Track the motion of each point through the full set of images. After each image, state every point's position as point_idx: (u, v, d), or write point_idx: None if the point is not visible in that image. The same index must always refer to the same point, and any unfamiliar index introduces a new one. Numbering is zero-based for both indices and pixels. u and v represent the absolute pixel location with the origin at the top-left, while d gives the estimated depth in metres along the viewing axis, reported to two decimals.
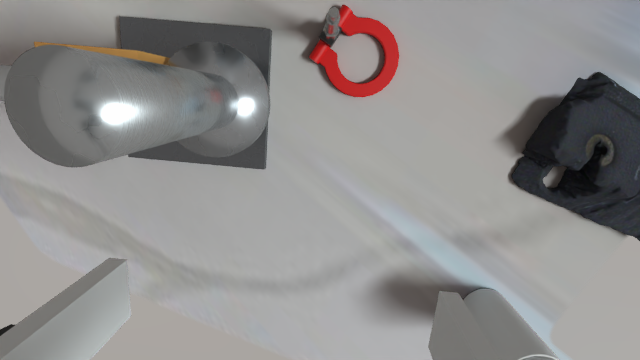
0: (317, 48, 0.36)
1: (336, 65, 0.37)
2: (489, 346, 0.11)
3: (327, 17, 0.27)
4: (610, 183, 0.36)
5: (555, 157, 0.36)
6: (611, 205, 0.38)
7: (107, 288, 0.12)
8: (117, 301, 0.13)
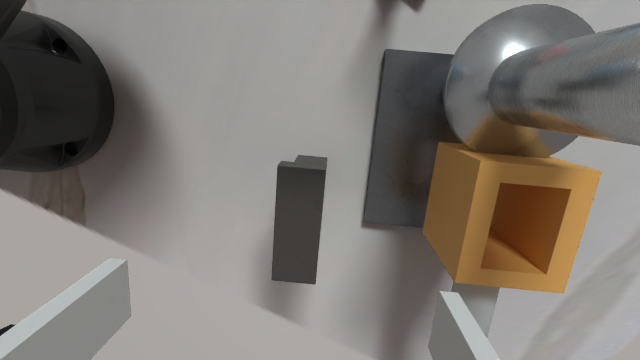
0: None
1: None
2: (489, 346, 0.11)
3: None
4: None
5: None
6: None
7: (106, 288, 0.12)
8: (117, 301, 0.13)
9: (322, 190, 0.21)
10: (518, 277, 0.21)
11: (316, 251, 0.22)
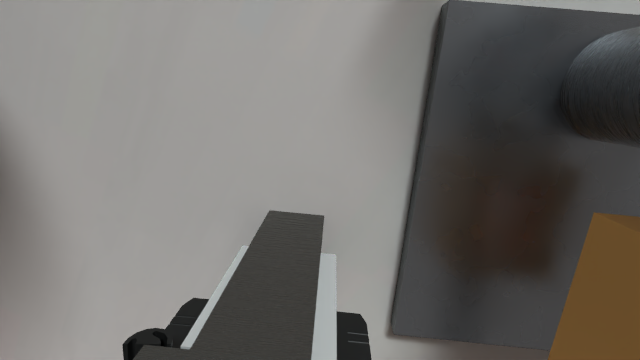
0: None
1: None
2: None
3: None
4: None
5: None
6: None
7: None
8: None
9: None
10: None
11: None
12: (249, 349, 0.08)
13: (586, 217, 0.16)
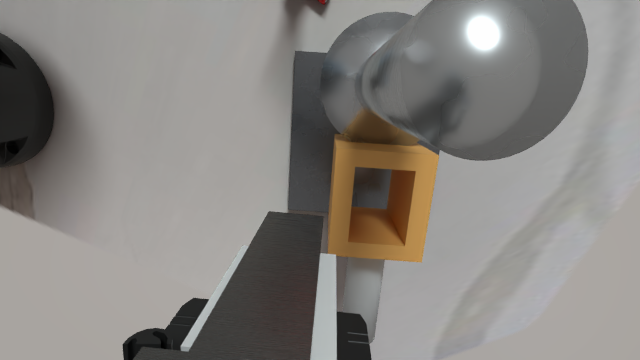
0: None
1: None
2: (335, 290, 0.13)
3: None
4: None
5: None
6: None
7: None
8: None
9: None
10: (381, 249, 0.24)
11: None
12: (248, 350, 0.08)
13: None
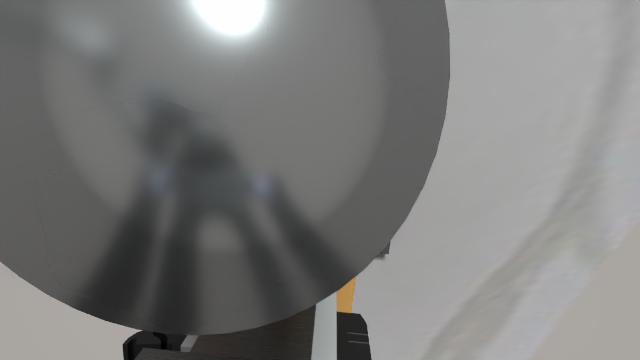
0: None
1: None
2: None
3: None
4: None
5: None
6: None
7: None
8: None
9: None
10: None
11: None
12: (249, 351, 0.08)
13: None
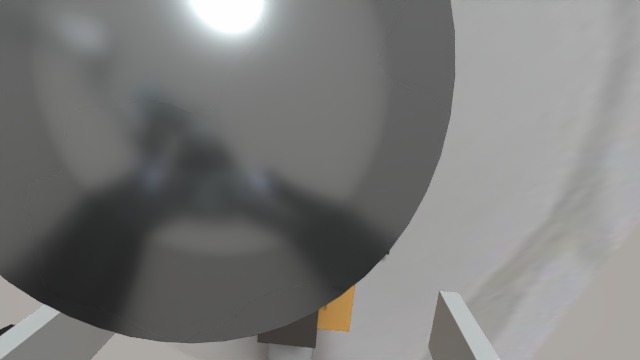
0: None
1: None
2: (489, 346, 0.11)
3: None
4: None
5: None
6: None
7: None
8: None
9: None
10: None
11: None
12: None
13: None
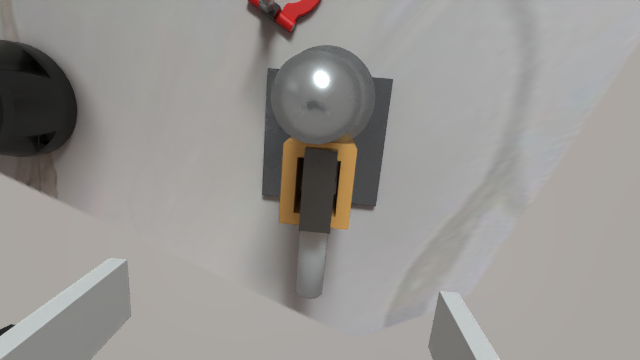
0: (282, 22, 0.40)
1: (296, 3, 0.40)
2: (489, 346, 0.11)
3: None
4: None
5: None
6: None
7: (106, 288, 0.12)
8: (117, 301, 0.13)
9: (335, 165, 0.30)
10: None
11: (330, 209, 0.31)
12: None
13: None
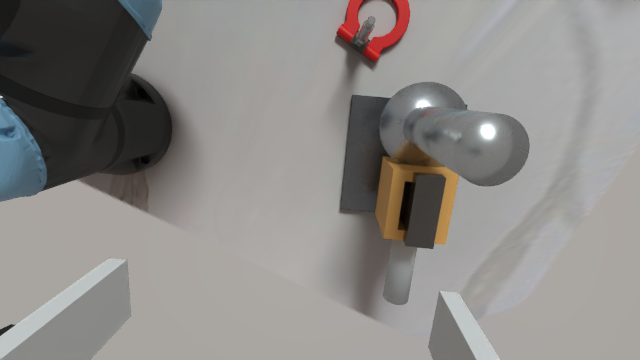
0: (369, 54, 0.44)
1: (382, 37, 0.44)
2: (489, 346, 0.11)
3: (368, 30, 0.35)
4: None
5: None
6: None
7: (106, 288, 0.12)
8: (117, 301, 0.13)
9: (443, 190, 0.34)
10: None
11: (435, 227, 0.35)
12: None
13: None
